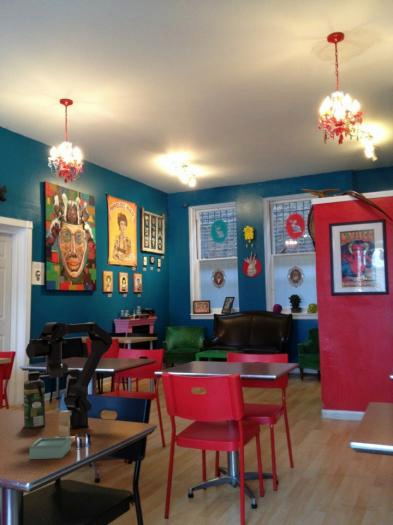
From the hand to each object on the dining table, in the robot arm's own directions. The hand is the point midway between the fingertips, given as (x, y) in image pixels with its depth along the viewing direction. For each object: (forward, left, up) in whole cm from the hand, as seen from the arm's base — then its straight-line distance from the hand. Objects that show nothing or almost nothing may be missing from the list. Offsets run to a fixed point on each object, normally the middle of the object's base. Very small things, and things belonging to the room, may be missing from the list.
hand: (54, 397), depth 182 cm
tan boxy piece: (-1, +15, -13) cm, 20 cm away
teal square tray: (+4, +27, -13) cm, 30 cm away
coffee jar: (+6, -18, -13) cm, 23 cm away
